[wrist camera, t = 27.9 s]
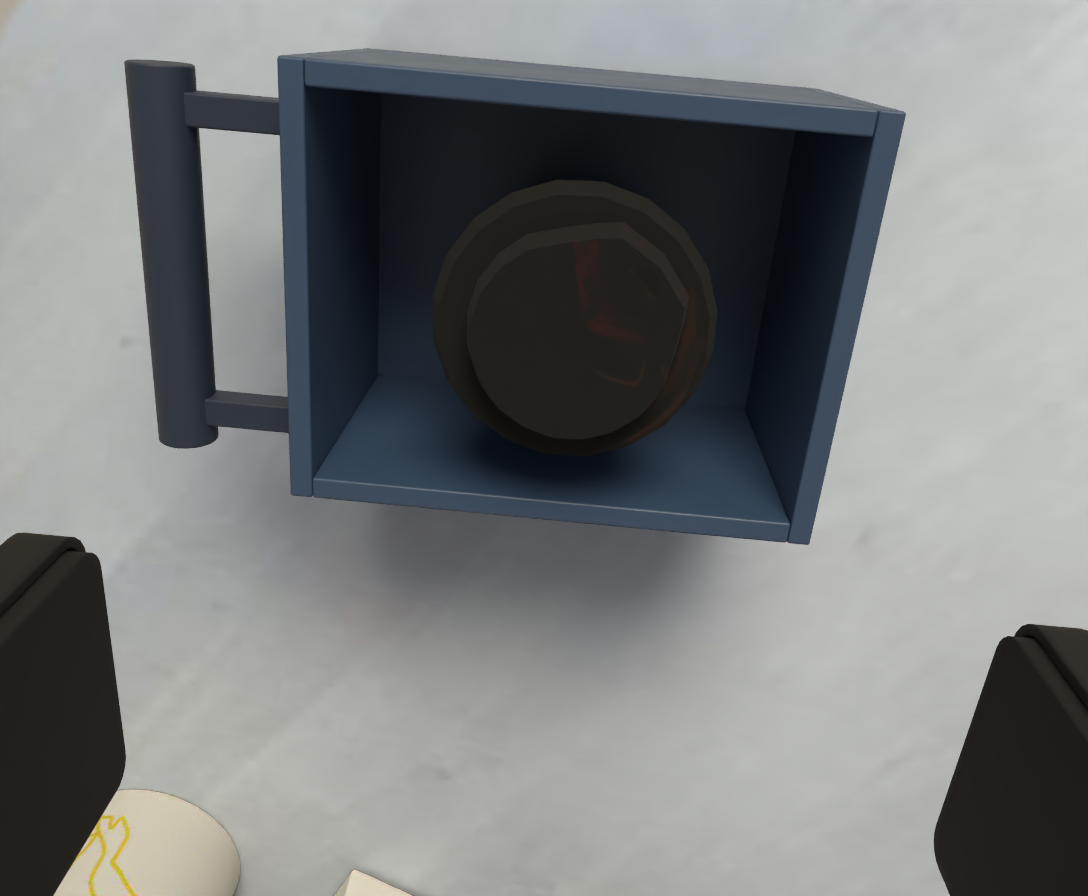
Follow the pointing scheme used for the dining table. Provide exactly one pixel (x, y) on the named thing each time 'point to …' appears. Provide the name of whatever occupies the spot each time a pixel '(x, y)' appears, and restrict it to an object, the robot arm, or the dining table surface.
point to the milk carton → (367, 886)
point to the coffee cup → (574, 317)
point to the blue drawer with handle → (443, 215)
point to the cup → (154, 851)
